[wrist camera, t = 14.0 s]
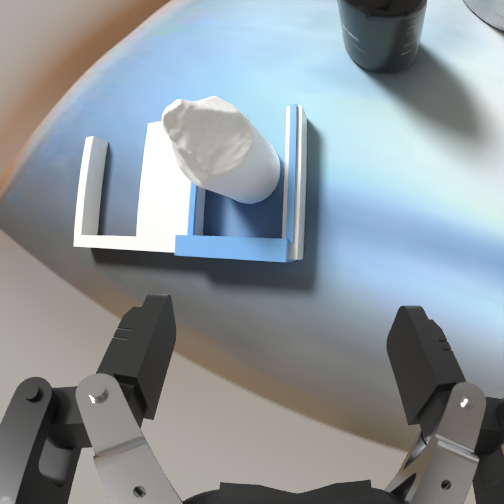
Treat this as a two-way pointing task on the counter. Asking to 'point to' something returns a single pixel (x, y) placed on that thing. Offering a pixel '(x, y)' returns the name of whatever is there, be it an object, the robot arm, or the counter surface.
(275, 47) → the counter surface
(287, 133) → the white rail frame
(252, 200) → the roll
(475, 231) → the counter surface
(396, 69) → the supplement bottle
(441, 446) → the robot arm
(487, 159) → the counter surface
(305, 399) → the counter surface
